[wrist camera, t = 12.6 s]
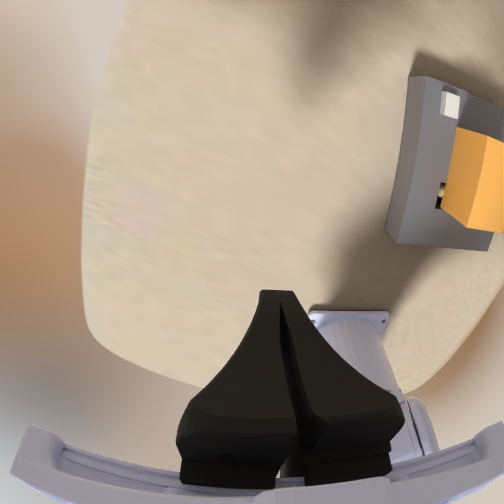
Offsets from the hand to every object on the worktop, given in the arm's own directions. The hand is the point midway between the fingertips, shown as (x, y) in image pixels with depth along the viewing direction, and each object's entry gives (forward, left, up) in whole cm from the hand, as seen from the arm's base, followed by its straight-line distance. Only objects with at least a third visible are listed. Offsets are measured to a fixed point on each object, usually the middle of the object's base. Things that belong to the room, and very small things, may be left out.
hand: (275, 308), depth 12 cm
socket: (+6, -14, -10) cm, 18 cm away
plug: (+6, -14, -10) cm, 18 cm away
